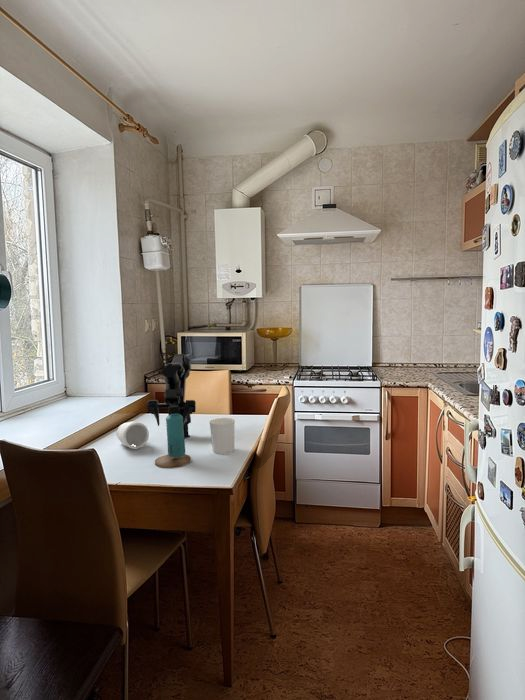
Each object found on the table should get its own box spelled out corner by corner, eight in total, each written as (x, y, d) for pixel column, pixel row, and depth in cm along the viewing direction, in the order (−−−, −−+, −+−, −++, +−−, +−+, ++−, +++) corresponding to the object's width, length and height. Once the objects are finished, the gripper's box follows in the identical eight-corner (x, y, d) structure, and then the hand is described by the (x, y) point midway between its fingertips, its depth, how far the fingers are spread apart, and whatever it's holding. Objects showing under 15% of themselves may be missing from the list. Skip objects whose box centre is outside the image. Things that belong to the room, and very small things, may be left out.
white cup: (226, 456, 177) (224, 425, 176) (206, 452, 183) (204, 422, 181) (240, 448, 186) (239, 419, 184) (221, 445, 191) (219, 416, 190)
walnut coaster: (182, 453, 182) (182, 451, 182) (196, 462, 171) (196, 460, 171) (150, 460, 175) (150, 458, 175) (162, 470, 164) (161, 467, 164)
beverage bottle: (189, 456, 175) (186, 404, 174) (179, 462, 169) (176, 407, 167) (174, 455, 178) (171, 403, 176) (164, 460, 172) (161, 407, 170)
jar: (126, 449, 201) (136, 454, 189) (108, 434, 198) (117, 438, 185) (143, 430, 206) (154, 433, 193) (125, 415, 202) (136, 417, 189)
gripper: (147, 380, 182) (143, 415, 173) (195, 380, 185) (194, 415, 175) (149, 394, 191) (146, 429, 182) (196, 394, 194) (195, 429, 184)
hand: (170, 425), depth 181 cm, fingers open, 9 cm apart
